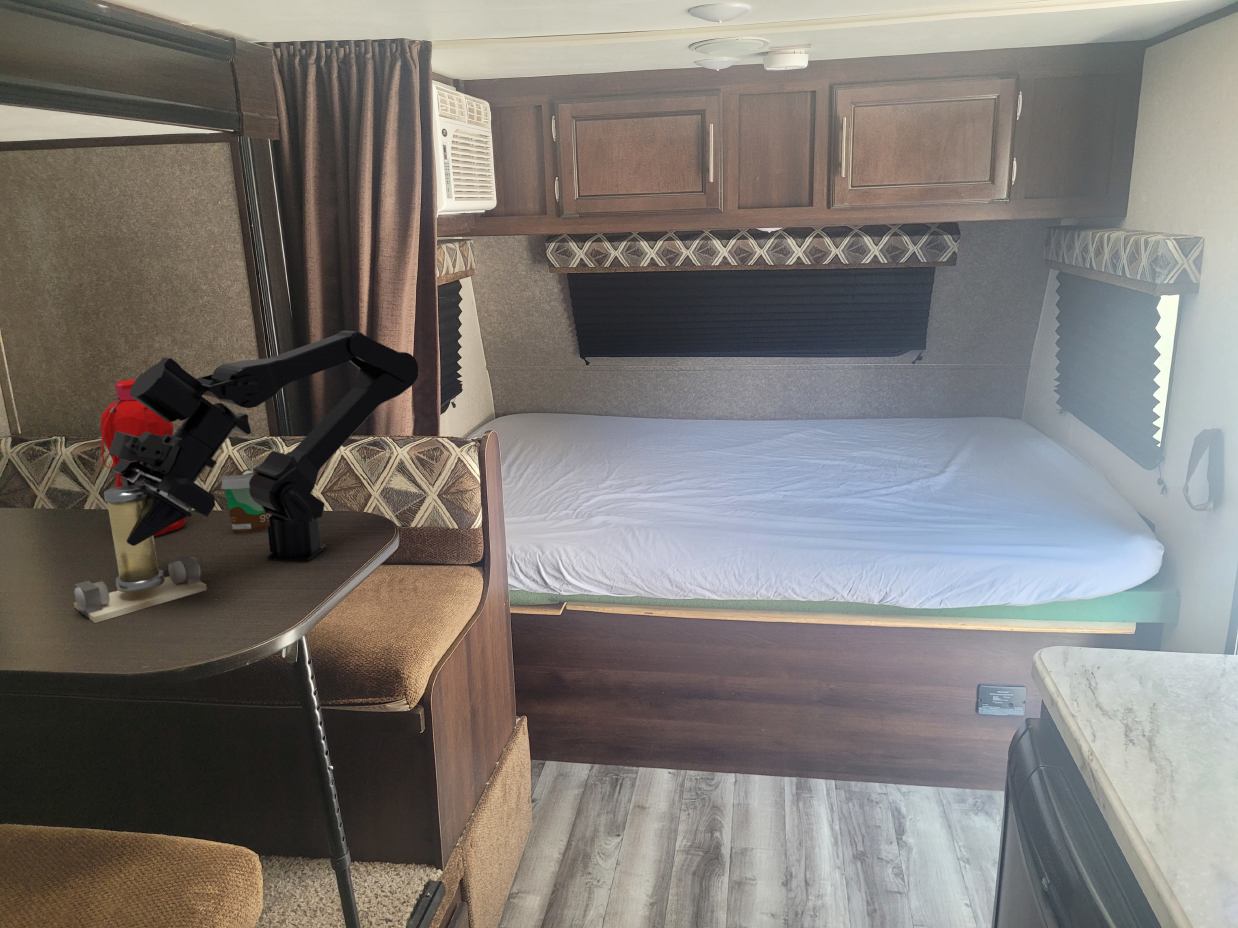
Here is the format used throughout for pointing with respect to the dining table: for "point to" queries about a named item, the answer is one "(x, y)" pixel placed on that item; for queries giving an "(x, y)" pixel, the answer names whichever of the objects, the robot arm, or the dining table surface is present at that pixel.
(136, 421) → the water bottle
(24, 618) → the dining table surface
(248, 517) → the food container
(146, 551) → the metal capped yellow cylinder
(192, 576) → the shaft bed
